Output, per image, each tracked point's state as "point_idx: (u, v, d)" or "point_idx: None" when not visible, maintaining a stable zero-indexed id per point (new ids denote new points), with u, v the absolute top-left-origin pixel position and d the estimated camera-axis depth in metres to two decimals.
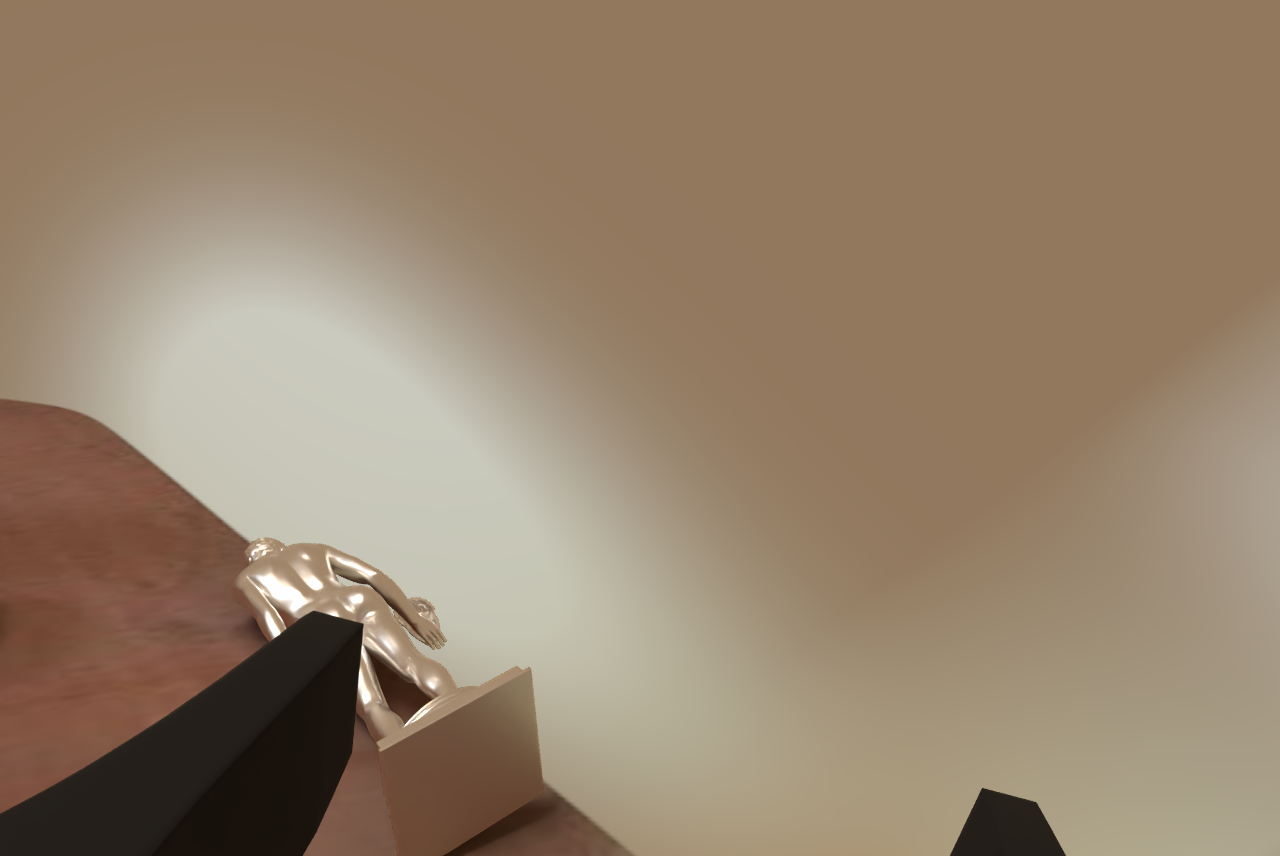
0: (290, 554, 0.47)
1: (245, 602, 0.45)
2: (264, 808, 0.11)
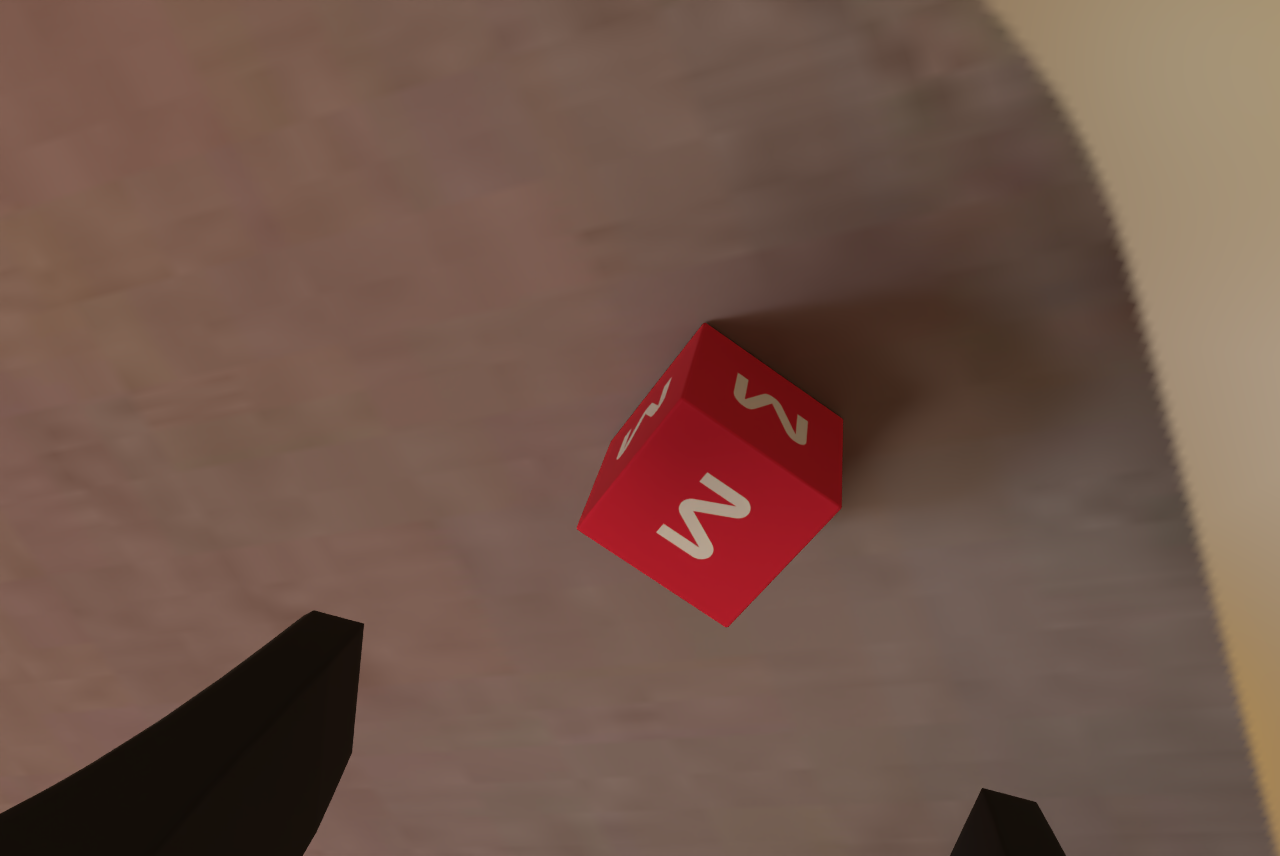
0: None
1: None
2: (264, 809, 0.11)
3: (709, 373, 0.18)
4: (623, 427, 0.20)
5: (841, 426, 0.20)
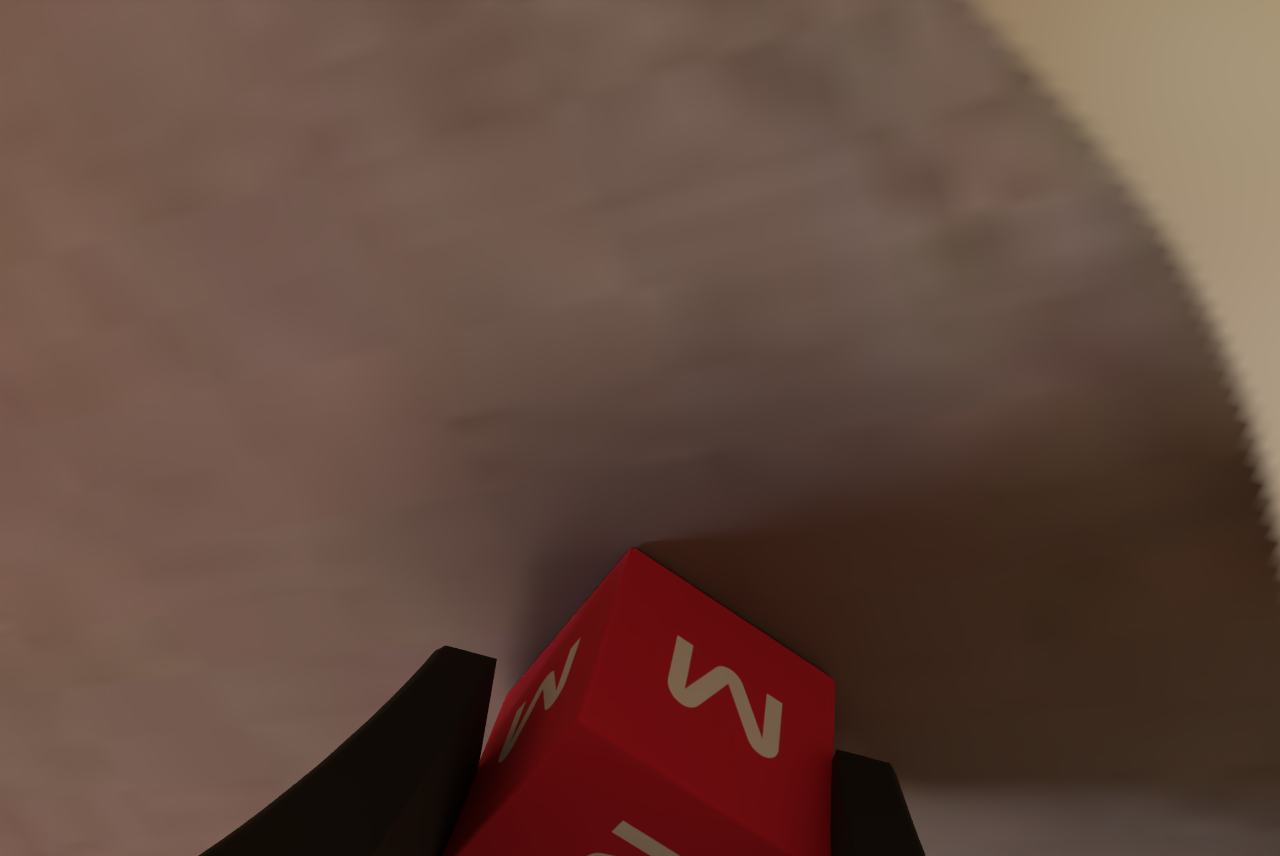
0: None
1: None
2: (415, 850, 0.11)
3: (631, 651, 0.12)
4: (521, 681, 0.14)
5: (832, 696, 0.13)
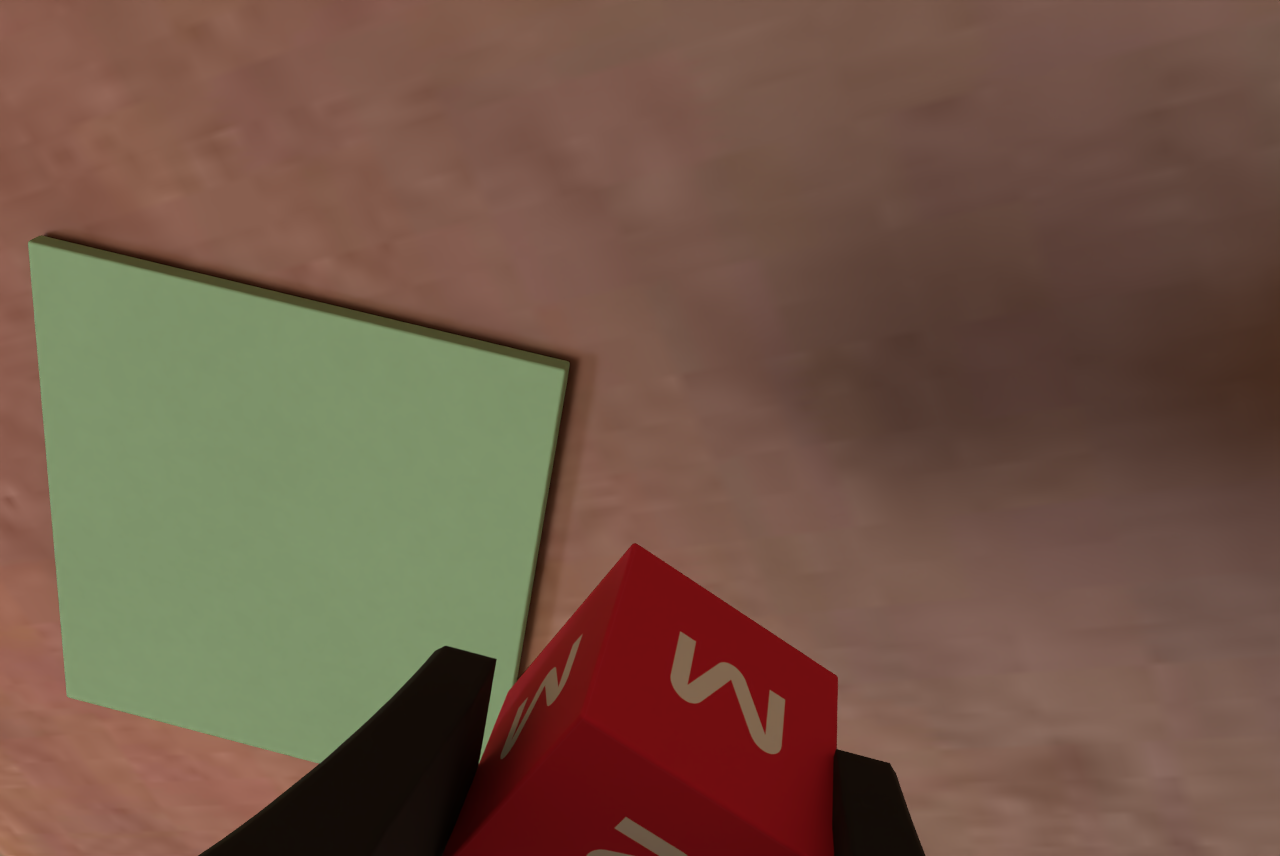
0: None
1: None
2: (415, 849, 0.11)
3: (633, 647, 0.12)
4: (523, 677, 0.14)
5: (835, 692, 0.13)
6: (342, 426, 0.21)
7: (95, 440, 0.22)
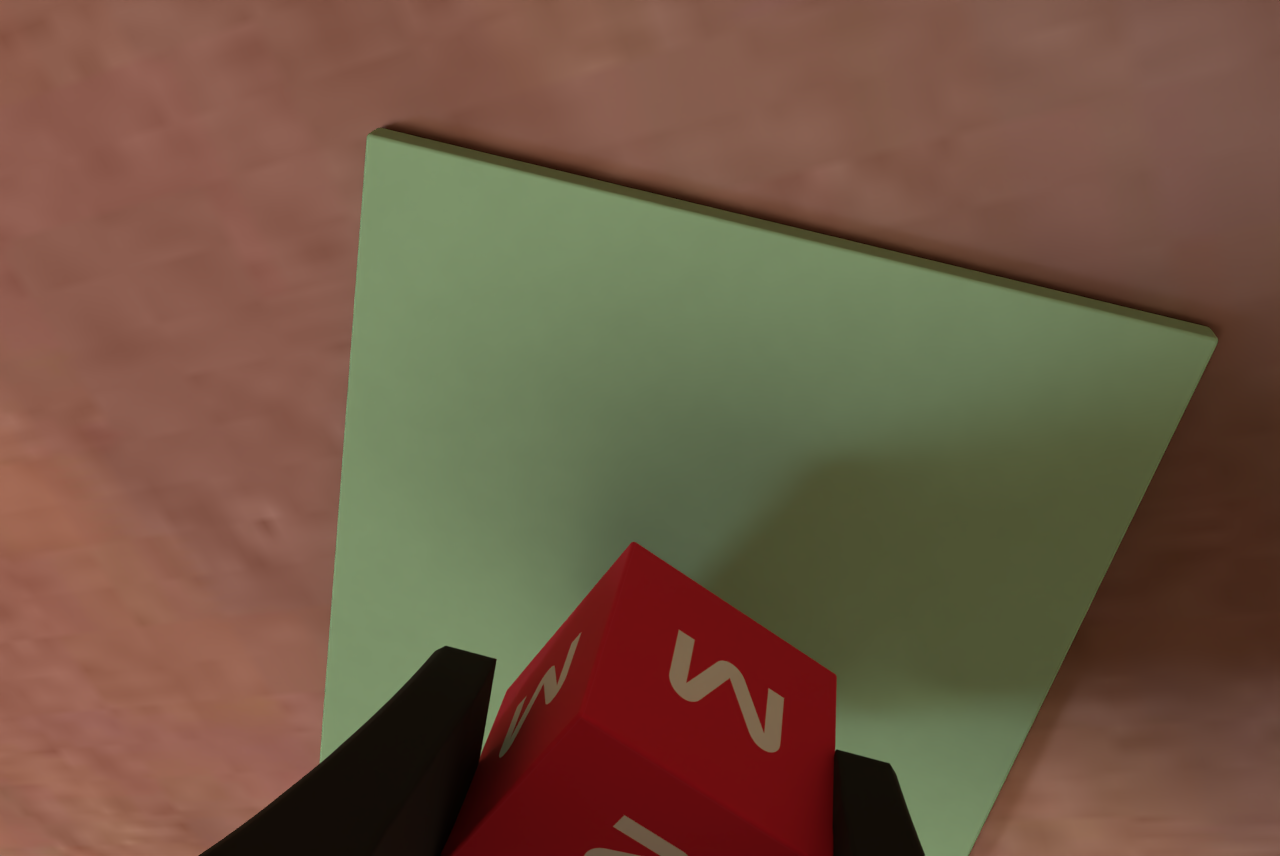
0: None
1: None
2: (415, 850, 0.11)
3: (632, 645, 0.12)
4: (521, 676, 0.14)
5: (833, 691, 0.13)
6: (823, 423, 0.14)
7: (423, 440, 0.15)
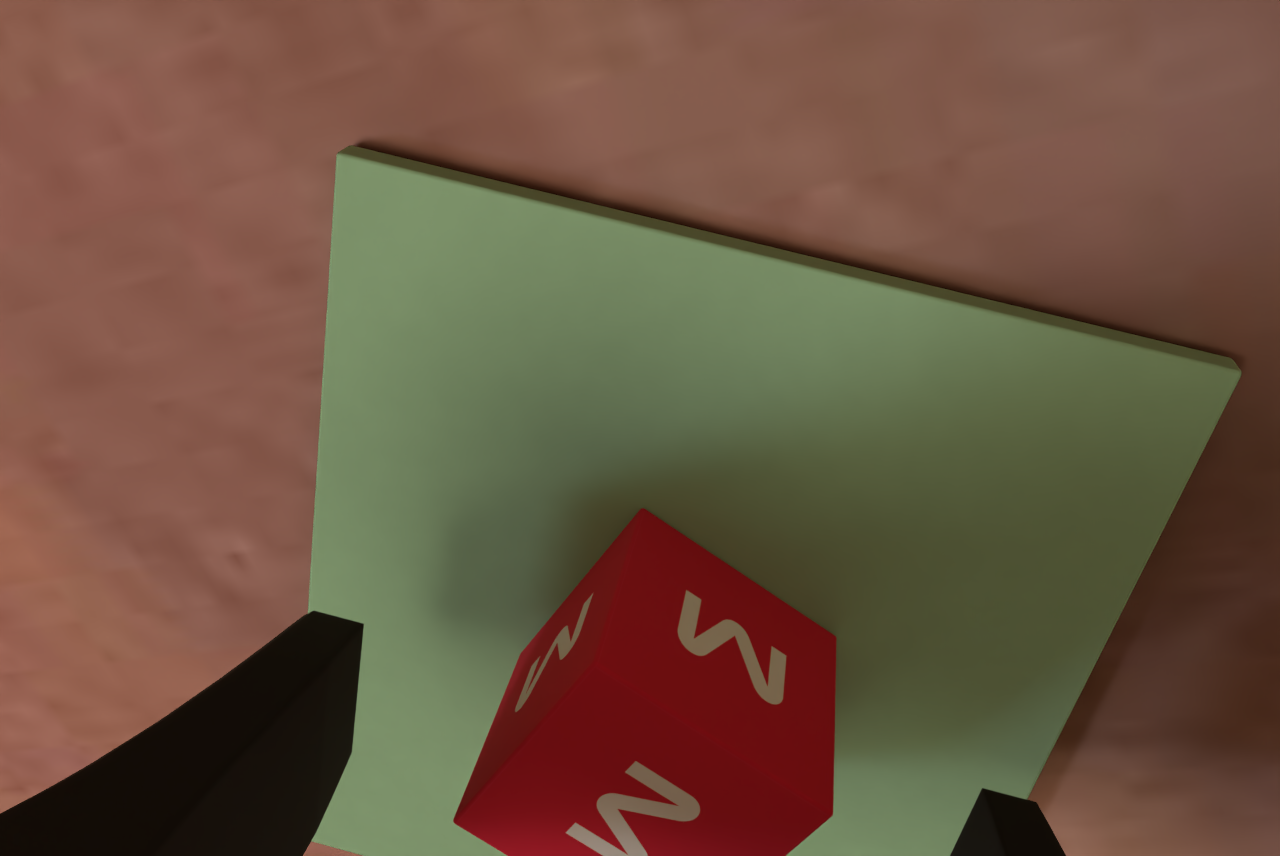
0: None
1: None
2: (264, 808, 0.11)
3: (642, 602, 0.12)
4: (535, 639, 0.15)
5: (834, 651, 0.14)
6: (820, 459, 0.13)
7: (400, 473, 0.14)
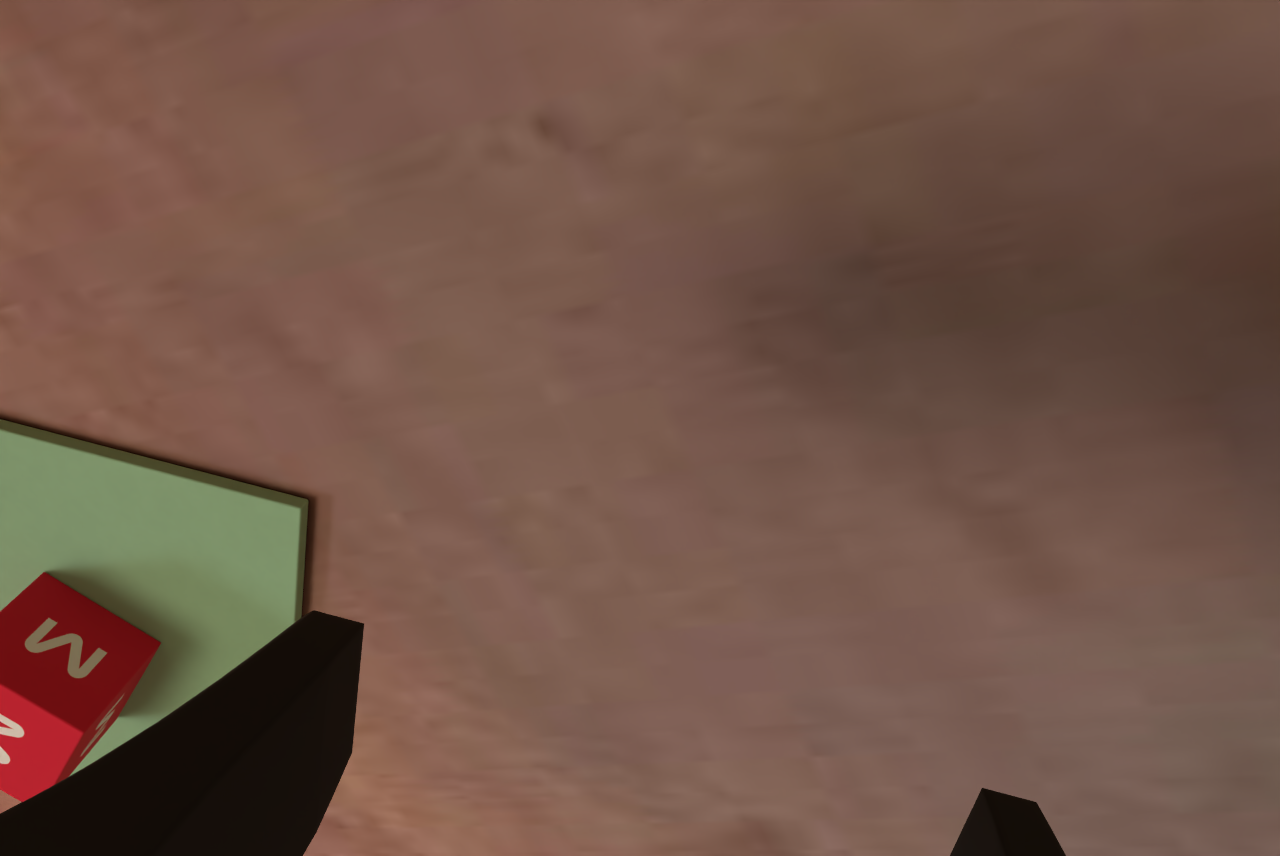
0: None
1: None
2: (264, 808, 0.11)
3: (8, 624, 0.24)
4: None
5: (151, 650, 0.26)
6: (123, 547, 0.25)
7: None
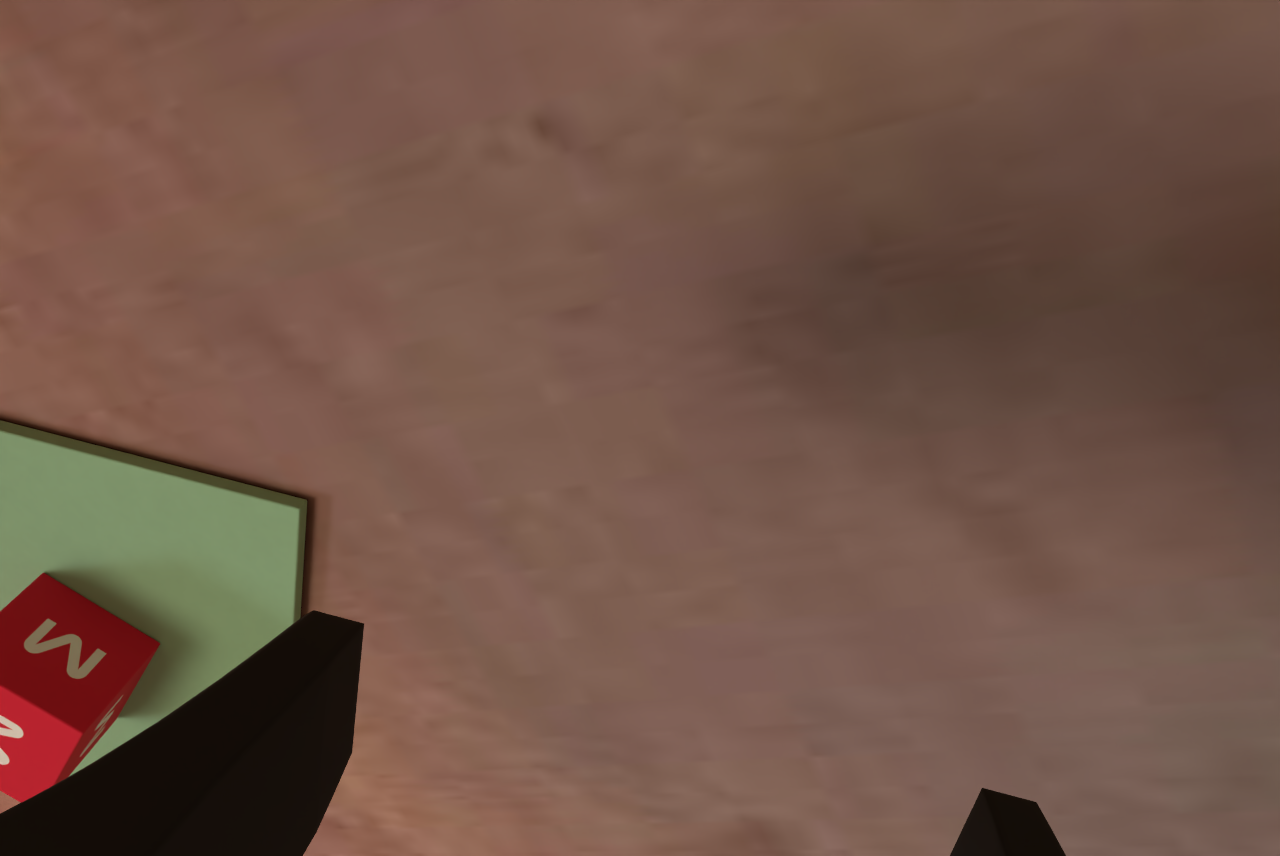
0: None
1: None
2: (265, 808, 0.11)
3: (7, 625, 0.24)
4: None
5: (150, 651, 0.26)
6: (122, 548, 0.25)
7: None
